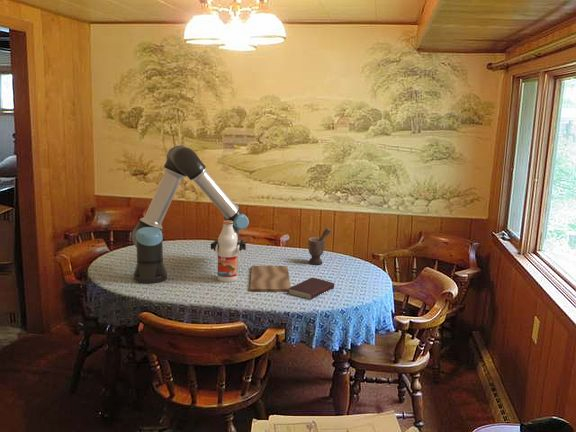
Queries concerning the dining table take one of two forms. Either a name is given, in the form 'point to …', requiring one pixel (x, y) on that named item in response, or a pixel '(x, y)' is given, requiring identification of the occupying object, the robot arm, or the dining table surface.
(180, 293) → the dining table surface
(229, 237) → the fruit juice
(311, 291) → the book
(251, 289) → the walnut board
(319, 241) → the mortar and pestle
